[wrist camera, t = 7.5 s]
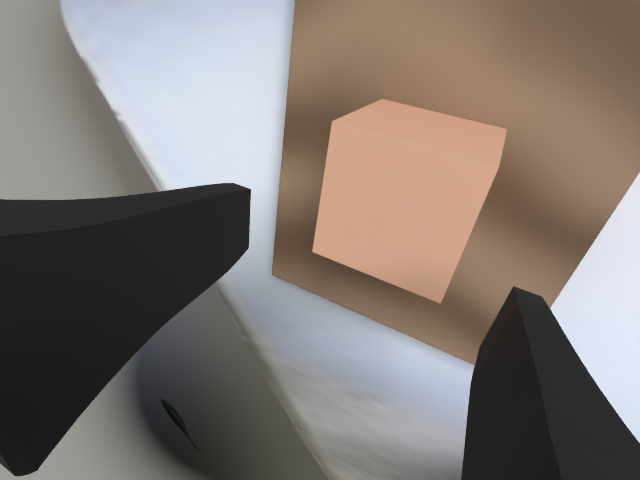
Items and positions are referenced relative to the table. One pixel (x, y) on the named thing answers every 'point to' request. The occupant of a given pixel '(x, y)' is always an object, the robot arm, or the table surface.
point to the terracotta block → (404, 193)
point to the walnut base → (476, 105)
